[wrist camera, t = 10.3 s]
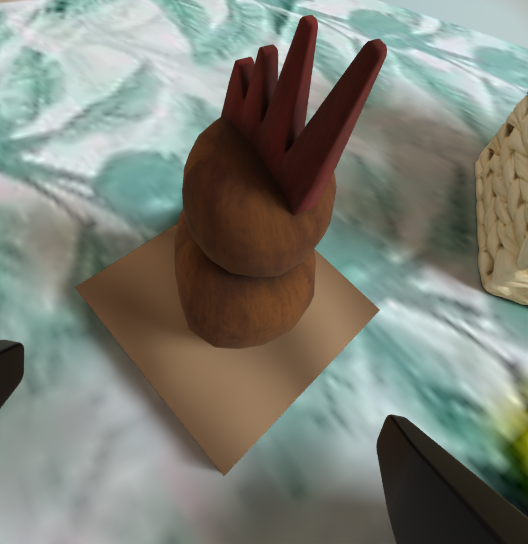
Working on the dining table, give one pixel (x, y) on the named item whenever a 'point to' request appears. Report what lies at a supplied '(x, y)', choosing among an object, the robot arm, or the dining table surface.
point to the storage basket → (504, 209)
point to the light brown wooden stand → (220, 361)
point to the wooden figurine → (264, 193)
